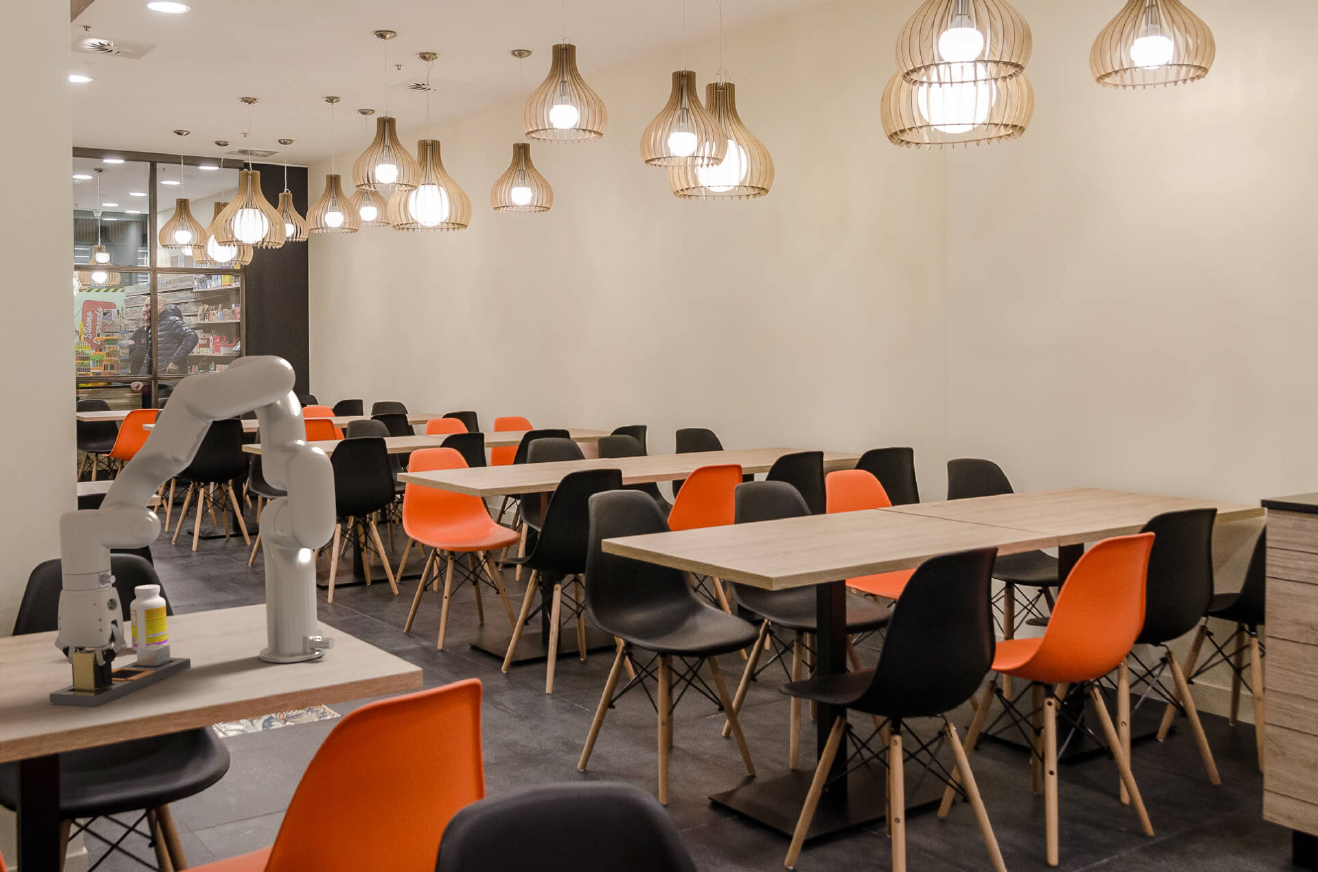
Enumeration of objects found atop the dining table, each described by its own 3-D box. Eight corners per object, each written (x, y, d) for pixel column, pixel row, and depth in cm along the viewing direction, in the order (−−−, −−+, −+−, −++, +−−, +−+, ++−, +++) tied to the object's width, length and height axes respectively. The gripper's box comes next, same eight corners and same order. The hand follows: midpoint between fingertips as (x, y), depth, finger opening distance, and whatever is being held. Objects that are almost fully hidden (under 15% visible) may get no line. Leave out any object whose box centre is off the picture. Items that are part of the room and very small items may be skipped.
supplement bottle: (174, 644, 228) (171, 583, 227) (156, 652, 221) (154, 589, 221) (143, 644, 229) (141, 583, 228) (125, 652, 222) (122, 589, 221)
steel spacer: (170, 671, 207) (169, 645, 207) (156, 676, 203) (155, 650, 203) (152, 669, 208) (151, 644, 208) (137, 675, 204) (136, 649, 204)
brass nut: (111, 693, 192) (109, 648, 191) (94, 699, 188) (92, 654, 187) (92, 691, 193) (89, 647, 192) (74, 698, 189) (72, 653, 188)
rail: (190, 667, 209) (190, 657, 209) (94, 706, 185) (94, 694, 185) (150, 665, 211) (149, 655, 211) (50, 703, 187) (49, 692, 187)
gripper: (143, 578, 191) (149, 681, 192) (62, 576, 195) (68, 677, 196) (113, 586, 183) (118, 694, 185) (29, 584, 187) (35, 689, 188)
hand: (92, 684), depth 190 cm, fingers closed on brass nut, 4 cm apart
